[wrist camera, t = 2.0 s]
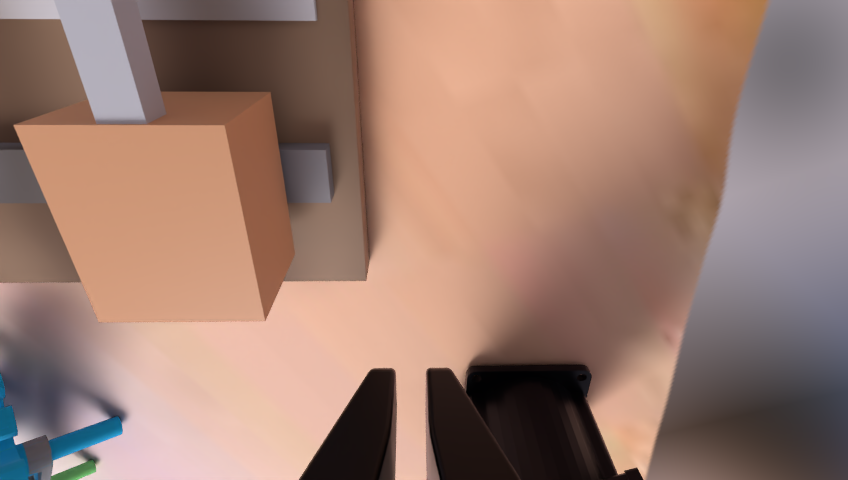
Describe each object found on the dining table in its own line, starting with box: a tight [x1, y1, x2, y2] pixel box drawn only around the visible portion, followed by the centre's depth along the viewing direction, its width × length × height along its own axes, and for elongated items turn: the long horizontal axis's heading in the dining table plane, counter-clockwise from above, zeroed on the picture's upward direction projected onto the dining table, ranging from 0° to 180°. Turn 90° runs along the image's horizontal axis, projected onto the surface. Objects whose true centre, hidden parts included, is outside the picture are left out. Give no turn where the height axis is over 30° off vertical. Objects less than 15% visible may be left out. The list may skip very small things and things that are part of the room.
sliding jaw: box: [13, 0, 295, 322], centre depth 13 cm, size 5×10×4 cm, turn 0°
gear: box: [0, 373, 123, 480], centre depth 23 cm, size 11×6×10 cm
